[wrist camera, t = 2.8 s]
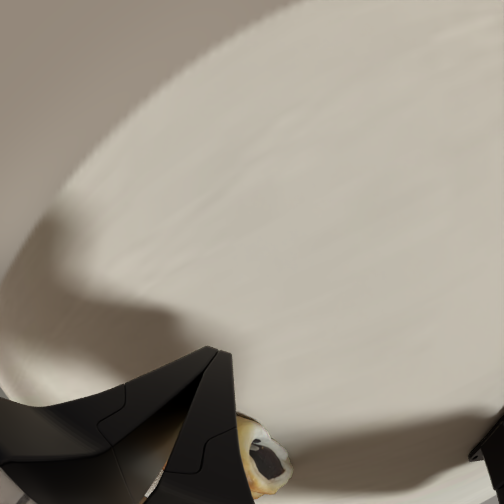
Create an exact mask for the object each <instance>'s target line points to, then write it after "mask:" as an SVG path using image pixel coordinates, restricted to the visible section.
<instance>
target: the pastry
mask: <svg viewBox="0 0 504 504" xmlns="http://www.w3.org/2000/svg"><path fill="white" fill-rule="evenodd" d="M236 417H237V429H238V439H239V446H240V453H241V458H242V462H243V466H244V470H245V473H246V477H247V480H248V483H249V487H250V490H251V493H252V496H253V499H258V498H259V497H261V496H263V495H264V494H269V495H272V494H275V493H276V492H277V490H278V489H279V488H281V487H282V486H284V485H285V484H286V483H287V481H288V480H289V479H290V478H291V477H292V474H293V467H292V465H291V463H290V459H289V458H288V452H287V451H286V449H285V448H284V447H283V446H281V445H280V444H279V443H278V442H277V441H275V440H274V439H272V438H271V436H270V434H269V433H268V432H267V430H266V429H265V428H264V427H263V426H262V425H261V424H259V423H257V422H255V421H252V420H249V419H245V418H243V417H241V416H238V415H236ZM167 461H168V460H167ZM166 464H167V462H166ZM166 464H165V465H164V467H163V468H162V469H163V471H164V469H165V466H166Z"/></svg>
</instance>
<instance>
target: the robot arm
mask: <svg viewBox="0 0 504 504" xmlns="http://www.w3.org/2000/svg"><path fill="white" fill-rule="evenodd" d="M468 459H469V462H473V461H480V460H484V461H485V464H486V467H487V470H488V473H489V476H490V480H491V483H492V487H493V489H494V490H496V493H497V497H498V501H499V504H504V416H503V417H502V418H501V419H500V421H499V422H498V423H497V424H496V426H495V427H494V428H493V429H492V430H491V431H490V433H489V434H488V435H487V436H486V437H485V438H484V439H483V441H482V442H481V443H480V444H479V445H478V446H477V447H476V448H475V449H474V450H473V451H472V452H471V453H470V454H469V456H468ZM167 460H168V461H167ZM166 462H167V464H166ZM165 464H166V466H165V469H164V471H163V472H164V473H163V474H162V476H161V478H160V480H159V482H158V484H157V486H156V488H155V489H154V491H153V492H152V493H151V494H150V495H149V497H148V498H147V499H146V500H145V502H144V503H143V504H255V503H254V500H253V496H252V493H251V490H250V487H249V483H248V480H247V477H246V473H245V470H244V466H243V462H242V458H241V453H240V446H239V439H238V429H237V417H236V404H235V391H234V377H233V363H232V354H231V353H228V352H225V351H222V350H220V351H219V350H218V349H216V348H213V347H210V346H205V347H203V348H201V349H199V350H197V351H195V352H193V353H191V354H188V355H186V356H184V357H182V358H180V359H178V360H176V361H174V362H171V363H169V364H167V365H165V366H163V367H160V368H158V369H156V370H154V371H152V372H149V373H147V374H145V375H142V376H140V377H138V378H136V379H133V380H131V381H129V382H126V383H125V384H121V385H119V386H116V387H114V388H111V389H109V390H106V391H103V392H101V393H98V394H94V395H91V396H88V397H84V398H80V399H76V400H72V401H68V402H64V403H60V404H56V405H51V406H46V407H32V406H27V405H23V404H20V403H17V402H14V401H11V400H8V399H5V398H2V397H0V504H139V503H140V501H141V500H142V498H143V497H144V495H145V494H146V492H147V491H148V489H149V488H150V486H151V485H152V483H153V482H154V480H155V479H156V477H157V476H158V474H159V473H160V471H161V470H162V468H163V467H164V465H165Z"/></svg>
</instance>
